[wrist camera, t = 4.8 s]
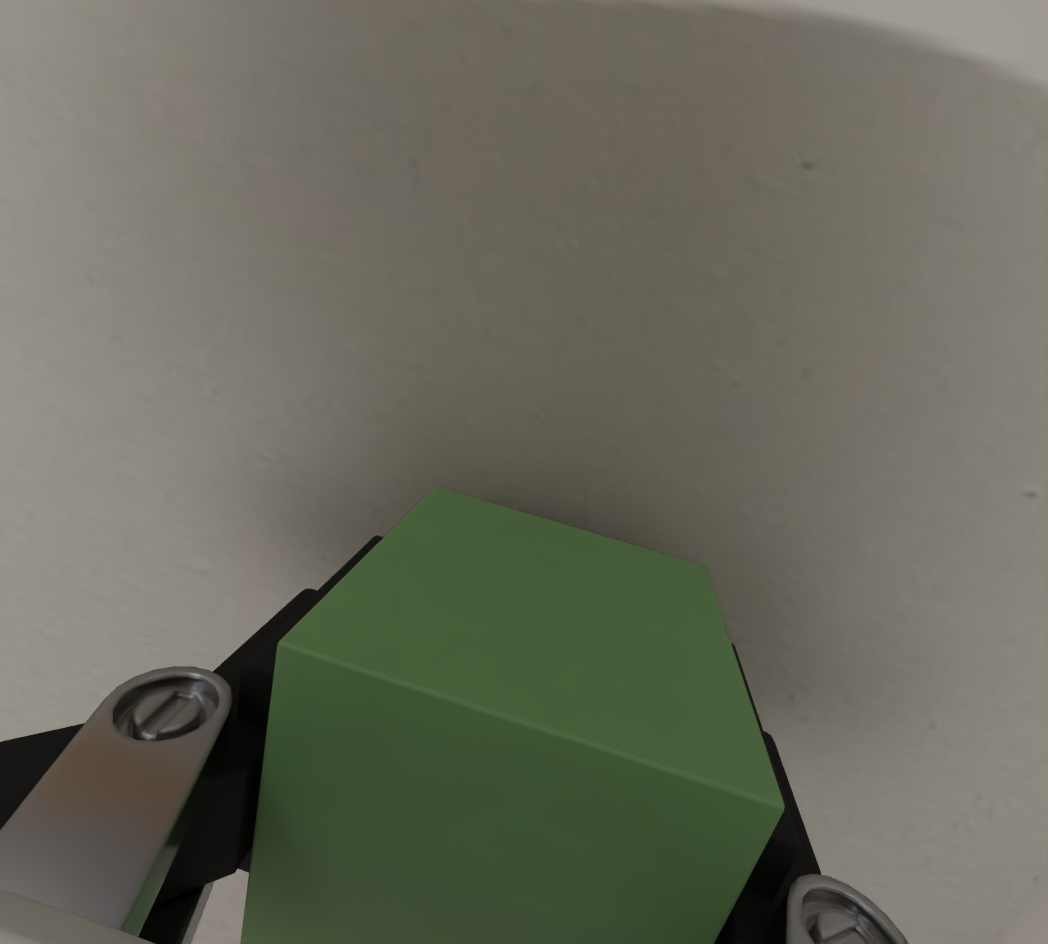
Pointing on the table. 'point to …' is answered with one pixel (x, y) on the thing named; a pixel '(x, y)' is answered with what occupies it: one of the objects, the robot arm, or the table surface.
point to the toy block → (507, 746)
